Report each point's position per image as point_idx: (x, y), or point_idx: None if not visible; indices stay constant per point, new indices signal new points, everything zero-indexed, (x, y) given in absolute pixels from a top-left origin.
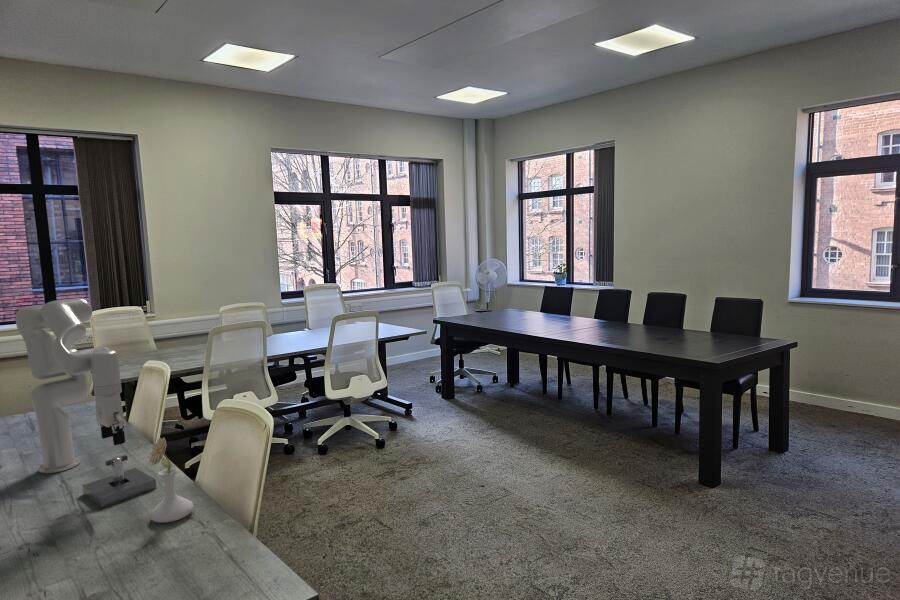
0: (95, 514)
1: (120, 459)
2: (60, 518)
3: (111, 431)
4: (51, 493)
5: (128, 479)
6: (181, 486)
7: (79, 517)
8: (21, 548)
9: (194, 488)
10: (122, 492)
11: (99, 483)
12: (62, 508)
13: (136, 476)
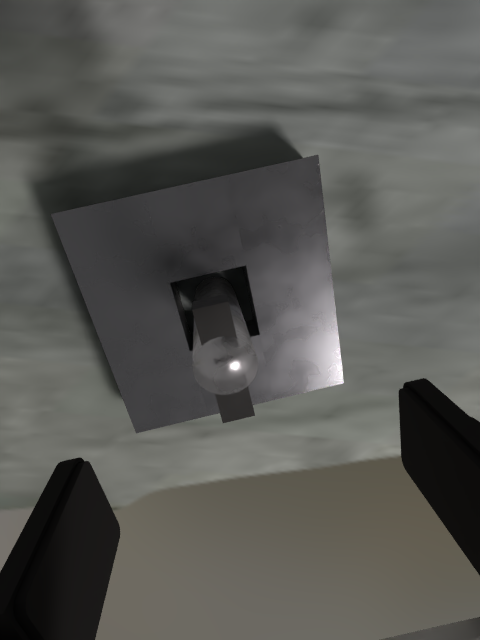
0: (7, 176)
1: (202, 383)
2: (63, 17)
3: (432, 500)
4: (447, 18)
5: None
6: None
7: (15, 105)
8: None
9: None
10: (89, 306)
11: (273, 231)
12: (195, 44)
13: None
